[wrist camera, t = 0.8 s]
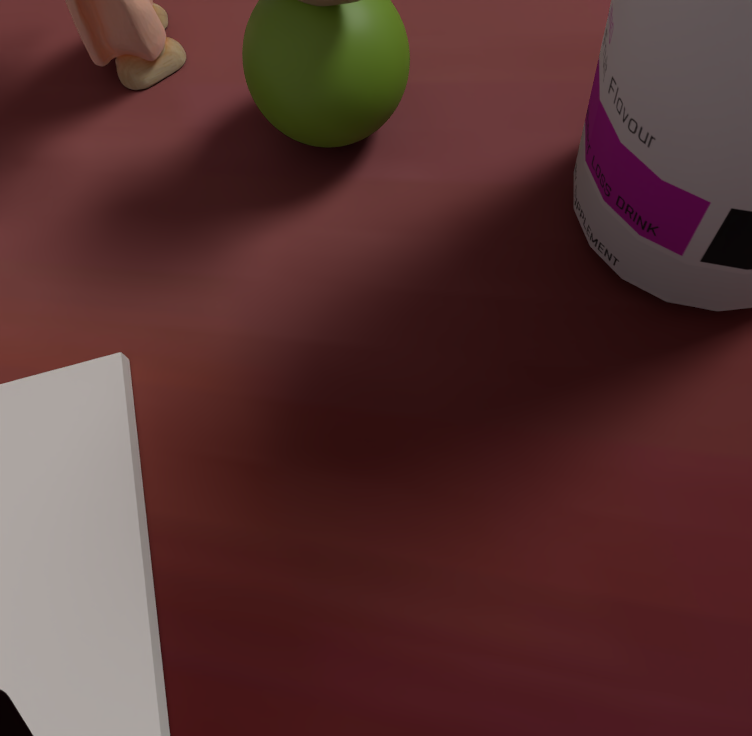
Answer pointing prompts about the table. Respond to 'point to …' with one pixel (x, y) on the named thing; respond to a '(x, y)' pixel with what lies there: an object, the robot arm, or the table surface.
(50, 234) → the table surface
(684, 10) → the supplement can
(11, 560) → the tile
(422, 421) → the table surface
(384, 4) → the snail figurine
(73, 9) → the grandmother figurine
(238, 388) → the table surface
